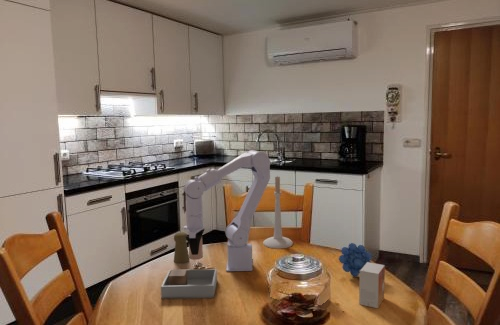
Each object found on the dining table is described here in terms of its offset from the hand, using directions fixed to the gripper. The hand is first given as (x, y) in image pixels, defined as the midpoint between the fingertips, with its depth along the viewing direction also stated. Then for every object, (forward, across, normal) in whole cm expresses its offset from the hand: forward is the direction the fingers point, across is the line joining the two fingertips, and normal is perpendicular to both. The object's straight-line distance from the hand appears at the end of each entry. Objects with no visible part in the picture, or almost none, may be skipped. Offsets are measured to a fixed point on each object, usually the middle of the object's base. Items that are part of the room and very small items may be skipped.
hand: (195, 251), depth 139 cm
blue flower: (+9, +6, +55) cm, 56 cm away
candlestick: (+8, -31, +31) cm, 45 cm away
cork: (+8, -13, -8) cm, 17 cm away
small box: (+9, +23, +55) cm, 61 cm away
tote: (+8, +12, 0) cm, 15 cm away
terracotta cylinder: (+2, 0, 0) cm, 2 cm away
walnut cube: (+8, +12, -4) cm, 15 cm away
